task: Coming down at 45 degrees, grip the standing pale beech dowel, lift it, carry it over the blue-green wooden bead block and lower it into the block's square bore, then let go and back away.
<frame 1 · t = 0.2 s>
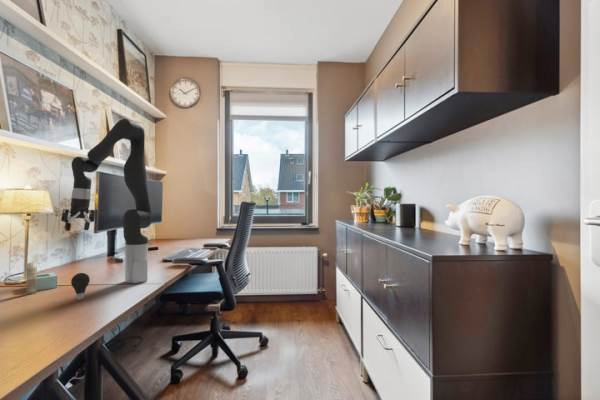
hand: (77, 230, 149), 22 cm above the table, tool pointing down, fingers open, 8 cm apart
dowel: (31, 293, 120), on the table
bead block: (42, 287, 128), on the table
light bulb: (80, 300, 113), on the table
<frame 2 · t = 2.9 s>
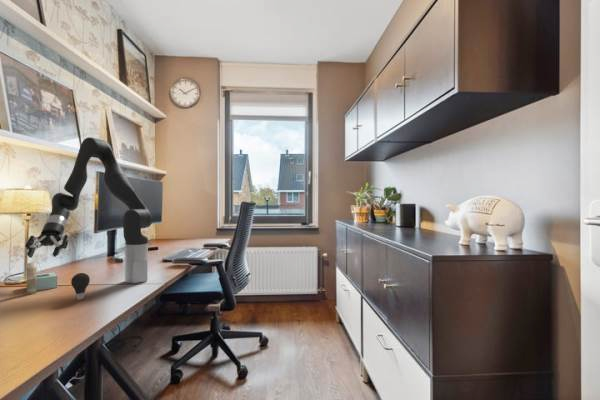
hand: (42, 256, 128), 13 cm above the table, tool tilted 45°, fingers open, 8 cm apart
nothing on the table moved.
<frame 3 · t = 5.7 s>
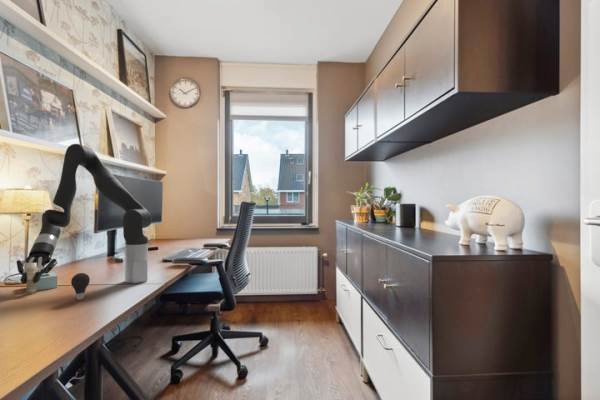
hand: (28, 282, 118), 5 cm above the table, tool tilted 45°, fingers closed on dowel, 3 cm apart
dowel: (31, 293, 120), on the table, touching gripper
everything else where it was.
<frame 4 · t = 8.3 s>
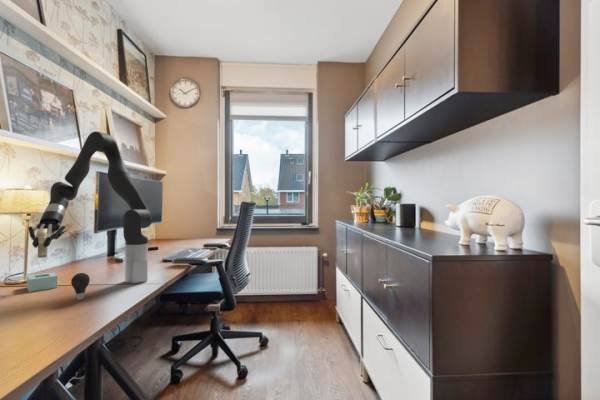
hand: (40, 246, 127), 18 cm above the table, tool tilted 45°, fingers closed on dowel, 3 cm apart
dowel: (42, 257, 129), point 13 cm above the table, touching gripper
everything else where it was.
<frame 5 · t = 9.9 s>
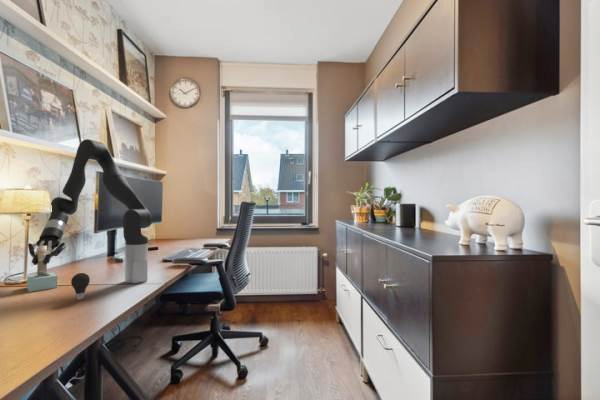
hand: (39, 263, 127), 11 cm above the table, tool tilted 45°, fingers closed on dowel, 3 cm apart
dowel: (41, 274, 129), point 6 cm above the table, touching gripper
everything else where it was.
when the fingers open (7 cm above the table, at t = 11.0 s): dowel drops 2 cm, resting in bead block.
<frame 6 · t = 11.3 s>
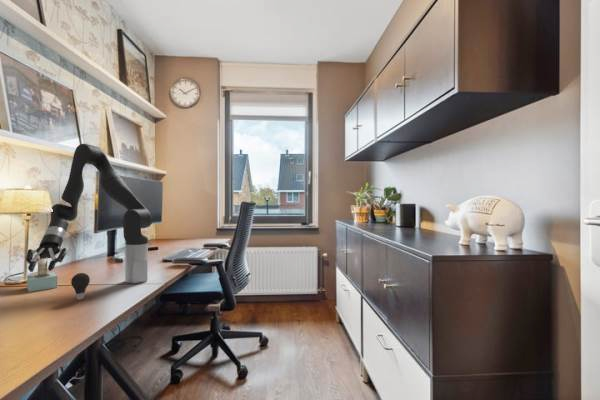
hand: (40, 270, 127), 8 cm above the table, tool tilted 45°, fingers open, 6 cm apart
dowel: (42, 287, 129), resting in bead block
everything else where it was.
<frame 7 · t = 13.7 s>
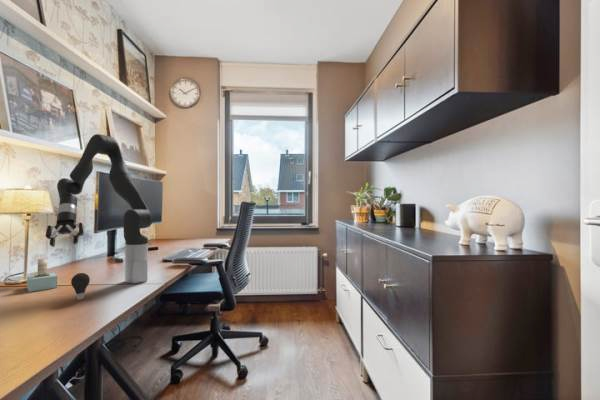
hand: (63, 244, 142), 16 cm above the table, tool tilted 30°, fingers open, 8 cm apart
nothing on the table moved.
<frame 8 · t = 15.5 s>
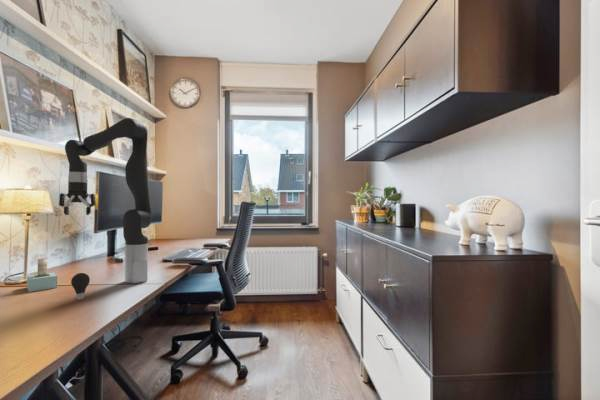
hand: (77, 214, 147), 30 cm above the table, tool pointing down, fingers open, 8 cm apart
nothing on the table moved.
at the end: dowel 0.1 cm off-centre on the bead block, point 0.0 cm above the bead block's base; dowel tilted 0°; the gripper is holding nothing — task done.
